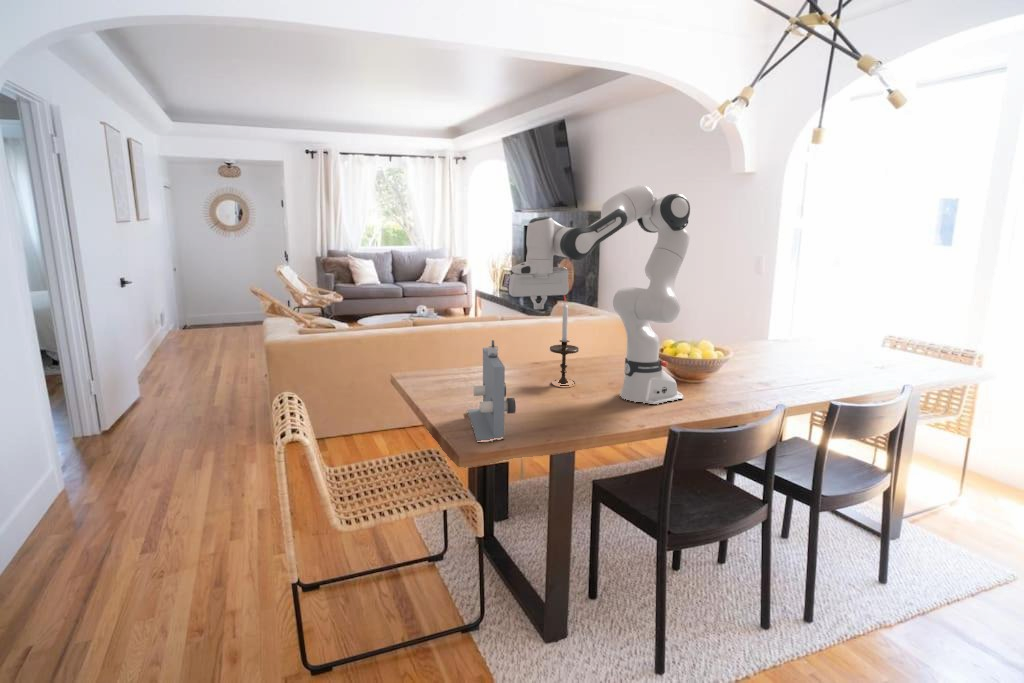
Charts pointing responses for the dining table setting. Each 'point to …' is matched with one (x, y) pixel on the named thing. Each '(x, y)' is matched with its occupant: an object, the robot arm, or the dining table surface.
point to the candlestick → (564, 346)
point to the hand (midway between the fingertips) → (538, 309)
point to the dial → (492, 351)
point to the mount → (494, 380)
